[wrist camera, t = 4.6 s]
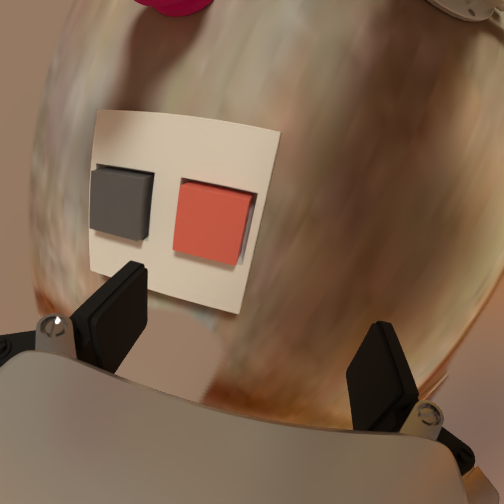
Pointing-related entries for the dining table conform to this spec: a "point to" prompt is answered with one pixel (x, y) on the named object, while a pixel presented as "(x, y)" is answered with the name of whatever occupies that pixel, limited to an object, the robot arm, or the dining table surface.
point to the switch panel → (167, 192)
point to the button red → (211, 221)
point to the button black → (121, 202)
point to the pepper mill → (176, 6)
